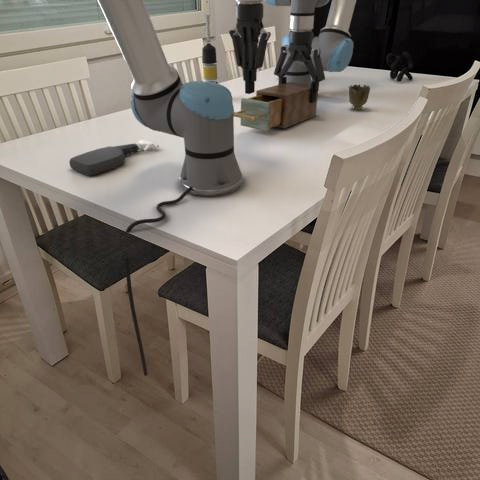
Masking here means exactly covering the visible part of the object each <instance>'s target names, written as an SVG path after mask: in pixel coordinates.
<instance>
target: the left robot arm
mask: <svg viewBox="0 0 480 480" xmlns="http://www.w3.org/2000/svg"><path fill="white" fill-rule="evenodd" d="M263 1H264V0H235V2H237V3H235V19H236V24H235V26H234V28H233V29H230V30H229V31H228V33H229V36H230V38H231V42H232V45H233V51H234V55H235V62H236V66H237V67H240V68H241V70H242V79H243V82H244V94H247V95H250V94H253V93H255V92H256V90H255V89H256V88H255V83H256V82H257V80H258V78H257V75H258V74H257V71H258V69H262V68H263V66H264V61H265V56H266V51H267V47H268V42H269V40H270V37H271V36H272V33H271V32H270V31H267V30H266V29H265V27H264V23H263V19H264V3H262V2H263ZM97 2H98V4H99V7H100V9H101V11H102V13H103V15H104V17H105V19H106V21H107V24H108V26H109V29H110V31H111V32H112V35H113V37H114V39H115V41H116V43H117V45H118V48H119V50H120V52H121V55H122V56H123V59H124V62H125V64H126V66H127V68H128V70H129V72H130V75H131V77H132V78H133V81H132V83H131V86H130V89H131V96H130V98H132V100H130V107H131V111H132V114H133V116H134V118H135V119H136V121H137V122H138V123H140V124H141V125H142V126H143V127H146V128H148V129H149V130H152V131H154V132H160V133H164V134H168V135H170V136H171V135H172V136H175V137H179V138H183V143H184V154H185V155H184V158H183V164H182V168H181V171H180V176H179V183H180V184H179V185H180V188H181V189H182V191H184V192H183V193H181V195H180V196H179V197H177V198H176V199H173V200H166V201H160V202H158V204H157V205H156V206H155V208H156V211H157V212H158V213H159V214H160V216H159V217H155V218H143V219H138V220H136V221H133V222H132V223H131V224H129V225H128V226H127V228H126V230H125V233H126V234H128V233H130V232H131V231H132V230H133V229H134V228H135V227H136V226H139V225H142V224H154V223H159V222H162V221H164V220H165V219H166V216H167V215H166V212H165V211H164V210H163V209H162V208H161V207H163V206H169V205H170V206H171V205H175V204H178V203H179V202H181V201H182V200H183V199H184V198H185V197H186V196H187V195H188V194H190V195H194V196H199V197H221V196H224V195H229V194H232V193H234V192H235V191H237V190H239V189H240V188H241V187H242V185H243V174H242V171H241V168H240V165H239V163H238V160H237V157H236V154H235V125H234V123H235V121H234V118H235V117H234V112H235V108H234V102H233V96H232V93H231V91H230V89H229V88H227V86H224V85H223V84H220V83H215V82H207V81H204V80H193V81H192V80H191V81H188V82H185V83H184V84H183V81H182V78H181V77H180V73H179V71H178V70H177V68H175V67H173V66H171V65H169V62H168V60H167V57H166V56H165V53H164V49H163V47H162V44H161V42H160V40H159V38H158V35H157V32H156V29H155V27H154V25H153V22H152V19H151V16H150V14H149V11H148V9H147V6H146V4H145V1H144V0H97ZM124 262H125V263H124V264H125V265H124V267H125V278H126V279H125V280H126V286H127V294H128V300H129V306H130V311H131V316H132V322H133V326H134V331H135V336H136V340H137V345H138V349H139V354H140V360H141V364H142V371H143V376H145V377H146V376H148V367H147V362H146V358H145V352H144V346H143V342H142V337H141V334H140V333H141V332H140V327H139V323H138V319H137V314H136V313H137V312H136V308H135V301H134V295H133V288H132V281H131V268H130V267H131V265H130V258H125V259H124Z"/></svg>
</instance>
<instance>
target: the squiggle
mask: <svg viewBox="0 0 480 480" xmlns="http://www.w3.org/2000/svg"><path fill="white" fill-rule="evenodd" d="M401 57H402V59H401ZM391 59H392V60H391ZM393 60H394V61H393ZM385 61H386V64H387V67H390V68H391V70H390V72H389V78H390V79H391V80H395V79H396V81H397V82H399V83H400V82H402V81H403V79H404V76H406V78H407V80H408V81H412V80H413V79H414V77H413V75H412V74H411V73H410V72H409V71H410V70H412V69H413V68H414V64H413V61H412V57H411V54H410V53H409V52H408V51H403V53H402V54H401V55H396V54H394V53H392V52H390V53H387V55H386V57H385ZM406 62H407V65H408V66H407V67H405V66H404V65H405V64H406ZM400 70H401V71H400Z"/></svg>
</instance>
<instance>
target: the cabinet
mask: <svg viewBox="0 0 480 480" xmlns="http://www.w3.org/2000/svg"><path fill="white" fill-rule="evenodd" d="M255 92H256V94H255V96H258V95H262V94H263V95H269V96H275V97H280V98H284V100H283V116H282V123H281V124H279V125H276V126H274V127H277V128H281V129H287V128H288V127H291V126H294V125H297V124H299V123H302V122H304V121H306V120H309V119H312V118H314V117H316V116H317V106H318V105H317V104H318V96H319V95H318V94H319V91H318V92H317V93H316V101H315V102H313V103H310V92H311V85H308V84H302V83H295V82H288V83H284V84H280V85H278V84H277V85H273V86H269V87H265V88H261V89H257V90H255Z"/></svg>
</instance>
